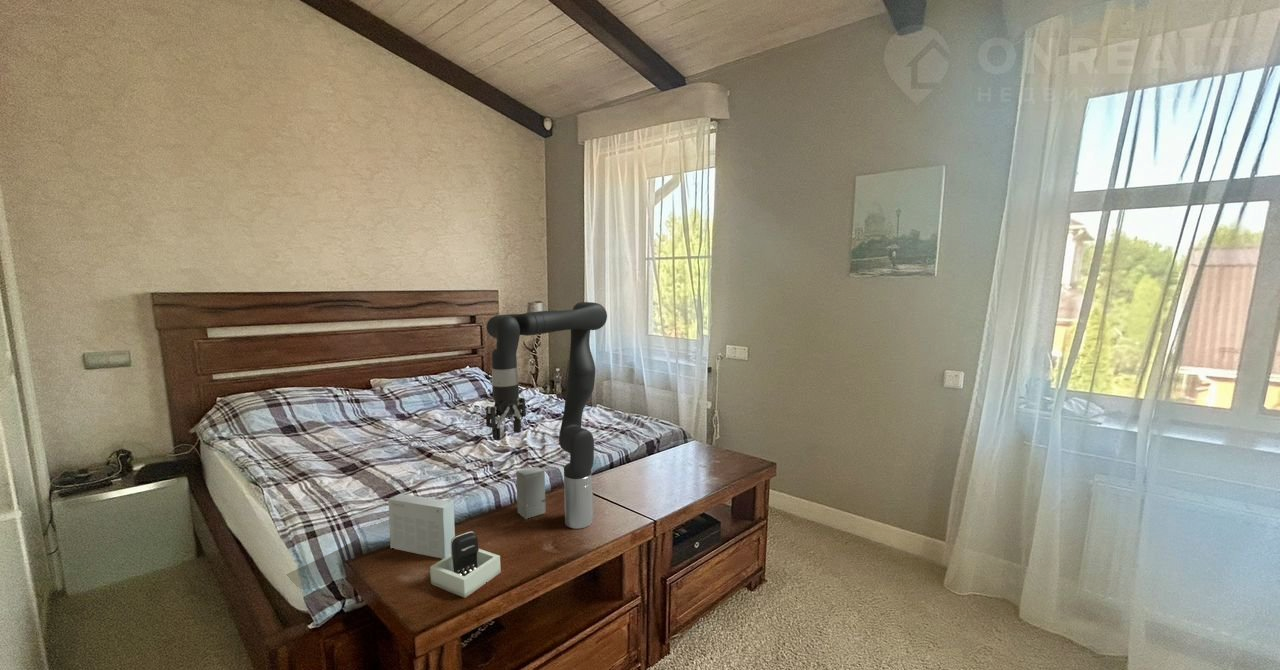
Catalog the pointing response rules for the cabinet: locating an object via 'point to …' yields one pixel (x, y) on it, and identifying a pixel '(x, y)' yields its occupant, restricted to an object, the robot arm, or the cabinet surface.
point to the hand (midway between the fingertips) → (507, 436)
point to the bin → (472, 581)
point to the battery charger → (464, 553)
